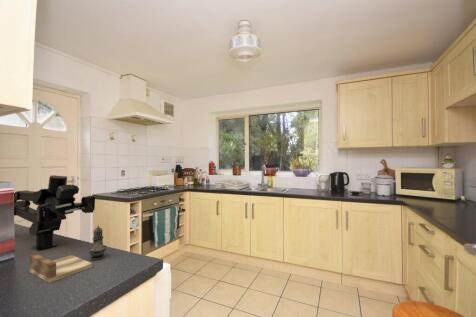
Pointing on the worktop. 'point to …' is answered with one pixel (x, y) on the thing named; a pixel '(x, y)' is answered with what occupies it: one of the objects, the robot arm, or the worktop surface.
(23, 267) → the worktop surface
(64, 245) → the worktop surface
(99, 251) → the grey tall rounded piece
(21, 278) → the worktop surface
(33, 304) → the worktop surface
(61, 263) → the board
